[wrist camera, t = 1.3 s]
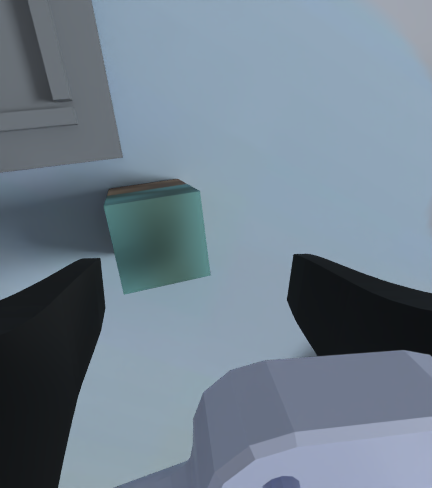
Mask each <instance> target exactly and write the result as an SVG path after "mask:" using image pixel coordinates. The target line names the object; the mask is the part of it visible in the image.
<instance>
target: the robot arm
mask: <svg viewBox="0 0 432 488" xmlns="http://www.w3.org/2000/svg"><path fill="white" fill-rule="evenodd" d="M287 301H288V304H289V306H290V309H291V311H292V314H293V316H294V318H295V320H296V322H297V324H298V325H299V327H300V329H301V330H302V332H303V334H304V335H305V337H306V338H307V340H308V342H309V343H310V345H311V346H312V348H313V349H314V351H315V353H316V354H317V357H304V358H290V359H277V360H265V361H260V362H257V363H253V364H250V365H247V366H243V367H240V368H236V369H233V370H230V371H229V372H228V373H226V374H225V375H224V376H223V377H221V378H220V379H219V380H218V381H217V382H215V383H214V384H213V385H212V386H210V387H209V388H208V389H207V390H206V391H204V392H203V395H202V397H201V400H200V403H199V405H198V408H197V410H196V413H195V416H194V418H193V447H192V451H191V456H190V458H189V460H187V461H185V462H183V463H180V464H177V465H174V466H172V467H169V468H166V469H163V470H161V471H158V472H155V473H153V474H150V475H147V476H144V477H142V478H139V479H136V480H133V481H131V482H128V483H125V484H122V485H120V486H117V487H114V488H432V293H428V292H423V291H419V290H415V289H411V288H407V287H404V286H400V285H397V284H393V283H390V282H387V281H383V280H380V279H378V278H375V277H372V276H369V275H366V274H363V273H361V272H358V271H355V270H353V269H350V268H348V267H345V266H343V265H340V264H338V263H335V262H332V261H330V260H327V259H325V258H322V257H319V256H315V255H311V254H294V255H293V262H292V269H291V276H290V282H289V289H288V296H287ZM104 312H105V299H104V289H103V280H102V270H101V260H100V258H84V259H80V260H77V261H75V262H73V263H72V264H70V265H68V266H66V267H65V268H63V269H61V270H59V271H58V272H56V273H54V274H52V275H51V276H49V277H47V278H45V279H43V280H41V281H40V282H38V283H36V284H34V285H32V286H30V287H28V288H26V289H24V290H22V291H20V292H18V293H16V294H14V295H11V296H9V297H7V298H5V299H2V300H0V488H58V485H59V480H60V475H61V470H62V465H63V460H64V455H65V451H66V446H67V442H68V437H69V433H70V428H71V424H72V420H73V415H74V411H75V407H76V403H77V399H78V395H79V392H80V389H81V385H82V383H83V380H84V377H85V374H86V372H87V369H88V366H89V363H90V360H91V358H92V355H93V352H94V349H95V346H96V344H97V341H98V338H99V335H100V332H101V328H102V323H103V318H104Z"/></svg>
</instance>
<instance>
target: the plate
mask: <svg viewBox="0 0 432 488" xmlns="http://www.w3.org/2000/svg"><path fill="white" fill-rule="evenodd" d="M122 157H123V156H122V151H121V146H120V141H119V136H118V131H117V126H116V121H115V116H114V111H113V106H112V101H111V96H110V91H109V86H108V81H107V76H106V71H105V66H104V61H103V56H102V51H101V46H100V41H99V36H98V31H97V26H96V21H95V16H94V11H93V6H92V1H91V0H0V173H1V172H9V171H17V170H25V169H33V168H41V167H49V166H57V165H65V164H74V163H82V162H90V161H98V160H106V159H114V158H122Z"/></svg>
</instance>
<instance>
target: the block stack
mask: <svg viewBox="0 0 432 488" xmlns="http://www.w3.org/2000/svg"><path fill="white" fill-rule="evenodd" d="M104 210H105V214H106V219H107V223H108V227H109V232H110V236H111V240H112V245H113V249H114V253H115V258H116V262H117V266H118V271H119V275H120V279H121V284H122V288H123V292H124V294H129V293H133V292H138V291H142V290H147V289H151V288H156V287H160V286H165V285H169V284H174V283H178V282H183V281H187V280H192V279H196V278H201V277H205V276H210V267H209V260H208V252H207V244H206V236H205V228H204V220H203V212H202V204H201V197H200V191H199V190H197V189H195V188H193V187H191V186H190V185H188V184H186V183H184V182H183V181H181V180H179V179H173V180H166V181H159V182H152V183H145V184H138V185H132V186H125V187H118V188H111V189H109V191H108V194H107V197H106V200H105V204H104Z"/></svg>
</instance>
